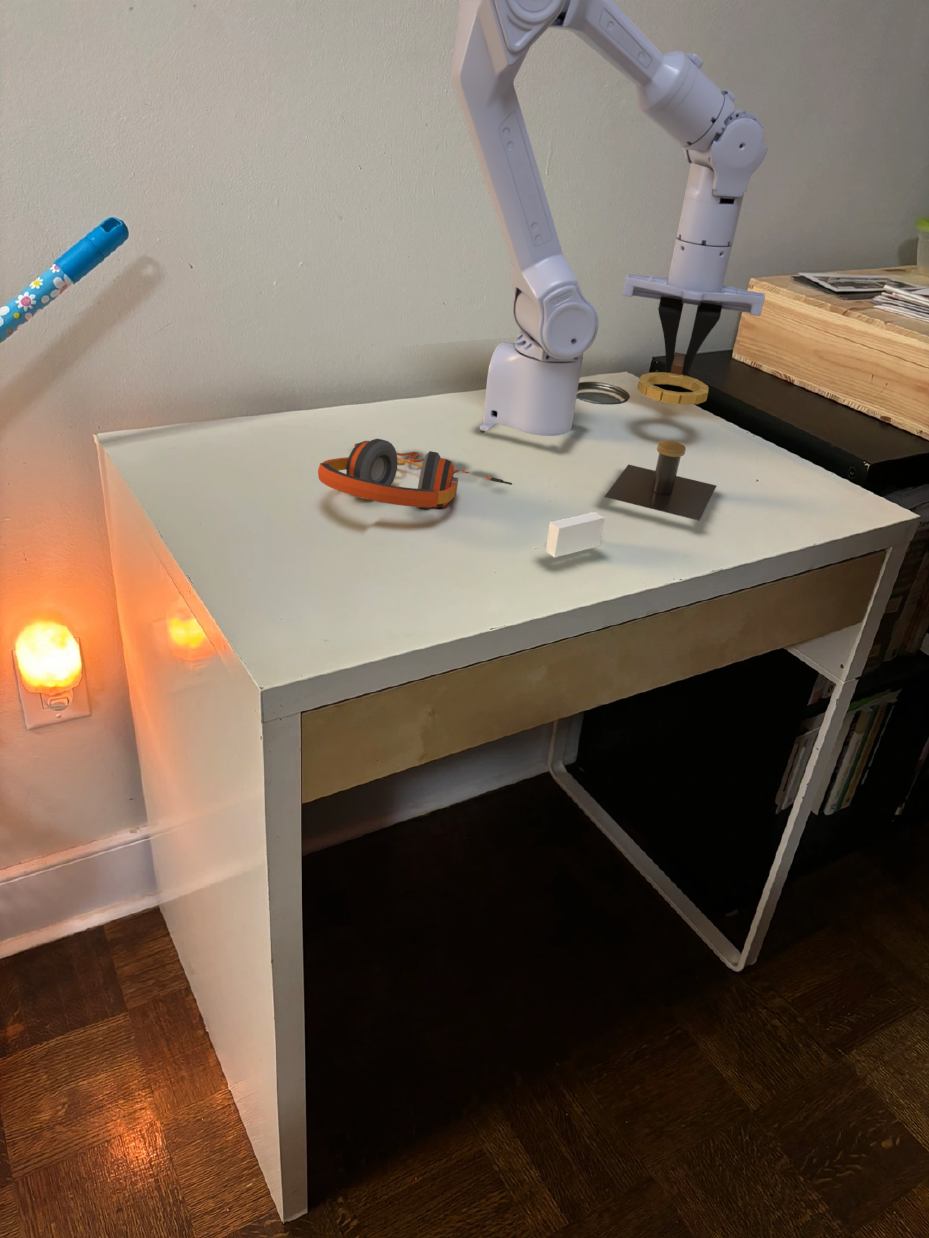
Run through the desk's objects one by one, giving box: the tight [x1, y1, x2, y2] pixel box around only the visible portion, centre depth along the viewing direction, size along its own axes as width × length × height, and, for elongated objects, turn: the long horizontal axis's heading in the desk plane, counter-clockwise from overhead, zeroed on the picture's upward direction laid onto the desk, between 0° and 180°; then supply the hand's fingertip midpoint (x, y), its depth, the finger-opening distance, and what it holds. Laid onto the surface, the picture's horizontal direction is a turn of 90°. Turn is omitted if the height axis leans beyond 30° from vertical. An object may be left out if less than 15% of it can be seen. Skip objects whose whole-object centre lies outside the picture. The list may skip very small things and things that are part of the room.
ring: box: [636, 351, 710, 406], centre depth 98 cm, size 12×7×2 cm, turn 166°
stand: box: [604, 440, 717, 522], centre depth 88 cm, size 9×9×6 cm
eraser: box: [545, 511, 606, 558], centre depth 77 cm, size 1×5×4 cm, turn 123°
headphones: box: [317, 438, 513, 510], centre depth 83 cm, size 17×5×20 cm
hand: (676, 371), depth 102 cm, fingers closed on ring, 1 cm apart
